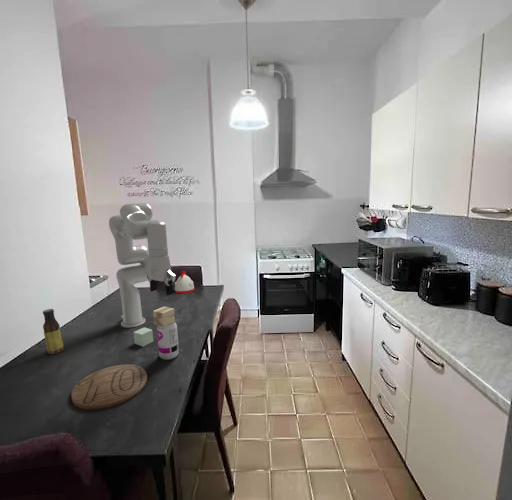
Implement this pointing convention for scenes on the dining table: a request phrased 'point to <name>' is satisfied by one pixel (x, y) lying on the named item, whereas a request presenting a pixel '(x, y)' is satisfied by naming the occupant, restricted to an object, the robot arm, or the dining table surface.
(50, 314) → the sauce bottle
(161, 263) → the robot arm
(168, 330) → the supplement can
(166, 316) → the beech cube
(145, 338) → the sage cube
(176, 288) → the white and red dome
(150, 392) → the dining table surface
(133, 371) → the trivet
